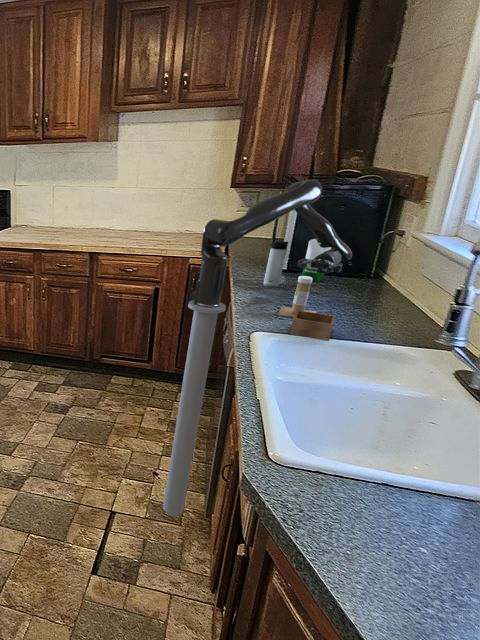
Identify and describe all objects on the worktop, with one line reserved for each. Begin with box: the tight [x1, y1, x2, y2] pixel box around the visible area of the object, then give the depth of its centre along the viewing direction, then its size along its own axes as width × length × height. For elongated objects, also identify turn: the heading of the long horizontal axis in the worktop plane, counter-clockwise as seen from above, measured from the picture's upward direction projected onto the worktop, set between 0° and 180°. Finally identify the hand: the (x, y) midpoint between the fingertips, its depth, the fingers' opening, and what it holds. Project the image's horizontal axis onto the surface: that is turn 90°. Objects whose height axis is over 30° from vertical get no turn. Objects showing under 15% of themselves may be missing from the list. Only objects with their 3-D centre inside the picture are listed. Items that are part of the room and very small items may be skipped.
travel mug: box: [262, 241, 289, 289], centre depth 230 cm, size 6×7×20 cm
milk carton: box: [301, 238, 332, 283], centre depth 242 cm, size 9×9×20 cm
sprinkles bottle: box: [291, 275, 313, 313], centre depth 193 cm, size 5×5×13 cm
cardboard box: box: [289, 310, 336, 342], centre depth 175 cm, size 11×11×6 cm
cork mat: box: [276, 306, 318, 319], centre depth 195 cm, size 12×12×1 cm
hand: (314, 268), depth 197 cm, fingers open, 8 cm apart
